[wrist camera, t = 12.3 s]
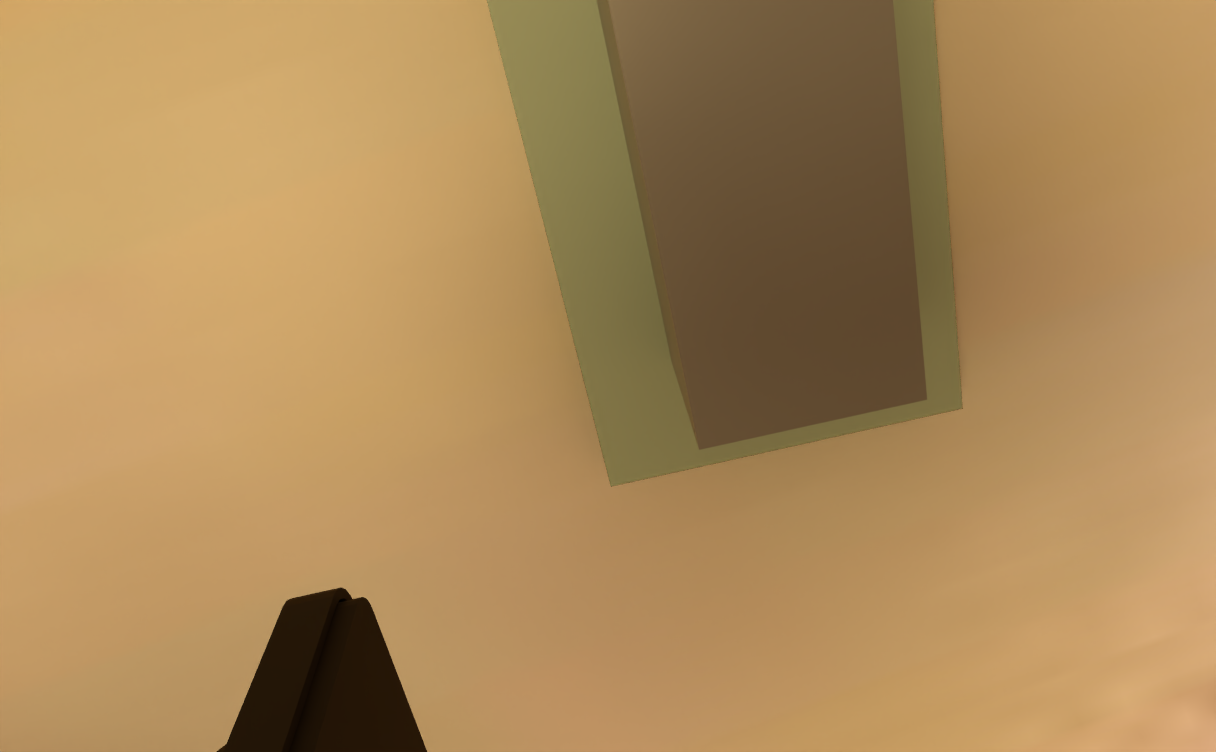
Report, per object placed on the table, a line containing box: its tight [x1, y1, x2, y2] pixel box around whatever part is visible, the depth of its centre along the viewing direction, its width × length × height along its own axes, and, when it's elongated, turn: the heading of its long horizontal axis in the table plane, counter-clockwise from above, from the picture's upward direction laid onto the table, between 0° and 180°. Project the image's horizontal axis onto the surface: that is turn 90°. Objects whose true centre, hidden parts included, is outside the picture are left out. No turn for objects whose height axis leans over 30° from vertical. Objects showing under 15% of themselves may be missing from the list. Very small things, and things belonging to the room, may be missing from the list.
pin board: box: [487, 0, 963, 487], centre depth 26 cm, size 20×12×5 cm, turn 12°
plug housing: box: [597, 0, 927, 450], centre depth 24 cm, size 12×6×6 cm, turn 12°
